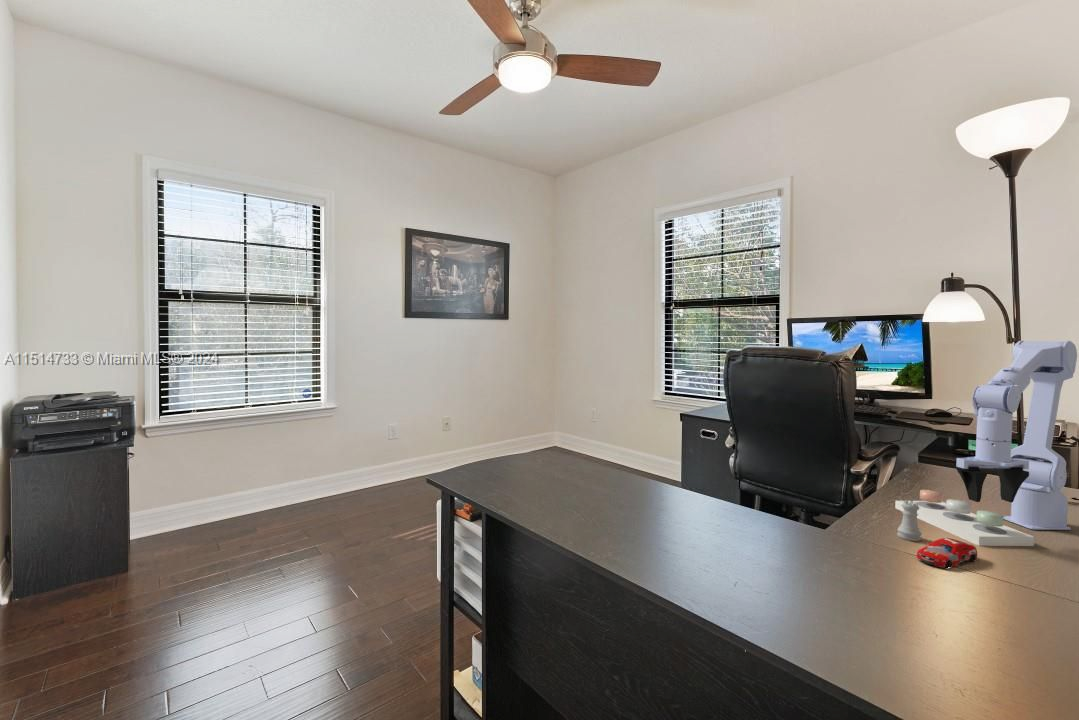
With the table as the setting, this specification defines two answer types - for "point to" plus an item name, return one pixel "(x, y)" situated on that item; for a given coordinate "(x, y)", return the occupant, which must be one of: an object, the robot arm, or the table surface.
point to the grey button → (958, 506)
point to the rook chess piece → (909, 522)
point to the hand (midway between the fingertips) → (990, 500)
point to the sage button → (990, 518)
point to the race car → (947, 553)
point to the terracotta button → (931, 496)
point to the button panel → (968, 526)
